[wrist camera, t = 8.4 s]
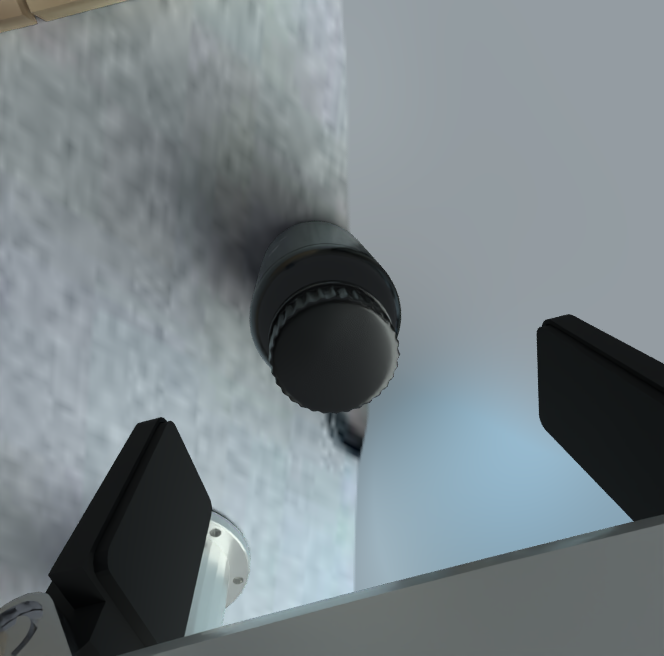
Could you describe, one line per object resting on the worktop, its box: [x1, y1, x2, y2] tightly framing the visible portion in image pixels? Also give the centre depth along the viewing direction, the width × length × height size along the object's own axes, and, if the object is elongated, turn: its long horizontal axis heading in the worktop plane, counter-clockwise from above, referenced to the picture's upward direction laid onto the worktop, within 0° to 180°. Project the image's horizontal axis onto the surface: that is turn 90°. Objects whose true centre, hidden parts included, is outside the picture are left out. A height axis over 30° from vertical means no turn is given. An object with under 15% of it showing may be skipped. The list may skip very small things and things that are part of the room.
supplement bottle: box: [250, 221, 401, 414], centre depth 20 cm, size 7×7×12 cm
